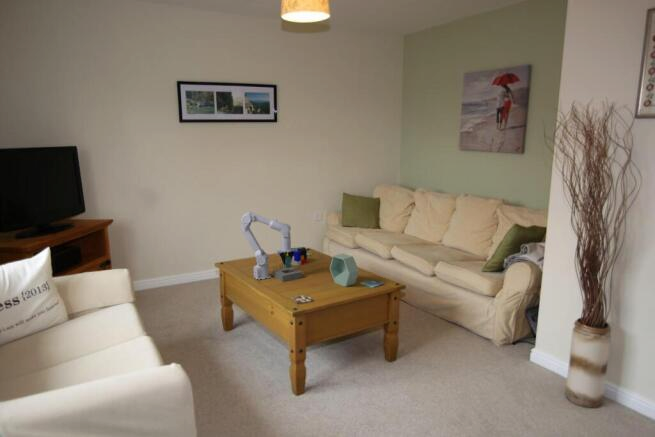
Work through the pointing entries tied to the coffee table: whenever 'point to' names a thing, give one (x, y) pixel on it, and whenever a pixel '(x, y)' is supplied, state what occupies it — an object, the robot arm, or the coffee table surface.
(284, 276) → the well block
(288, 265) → the teal peg
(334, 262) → the planter
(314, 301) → the coffee table surface
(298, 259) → the puzzle toy
